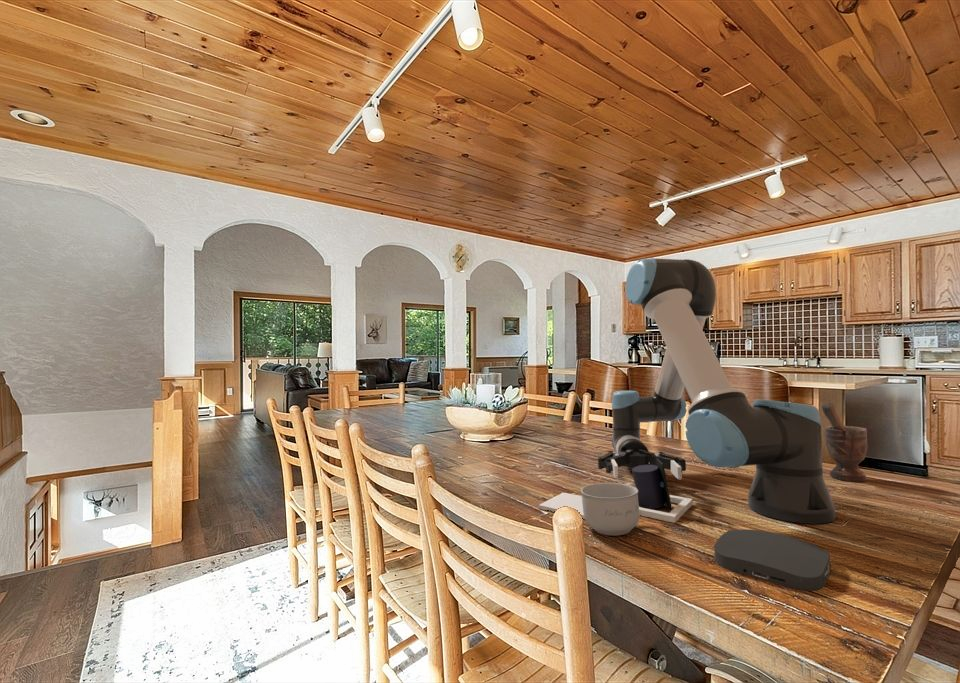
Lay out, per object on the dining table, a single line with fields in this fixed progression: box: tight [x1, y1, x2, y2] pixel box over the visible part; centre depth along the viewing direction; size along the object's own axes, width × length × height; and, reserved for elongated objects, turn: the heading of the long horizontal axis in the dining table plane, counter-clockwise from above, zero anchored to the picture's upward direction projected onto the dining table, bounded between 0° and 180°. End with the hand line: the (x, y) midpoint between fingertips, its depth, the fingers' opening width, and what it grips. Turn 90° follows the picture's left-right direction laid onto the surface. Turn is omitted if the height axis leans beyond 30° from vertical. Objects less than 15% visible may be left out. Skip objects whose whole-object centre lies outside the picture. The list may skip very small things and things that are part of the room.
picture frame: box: [639, 494, 694, 524], centre depth 99 cm, size 14×14×1 cm
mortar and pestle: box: [821, 402, 868, 483], centre depth 116 cm, size 12×9×20 cm
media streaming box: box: [713, 529, 832, 592], centre depth 72 cm, size 15×15×3 cm
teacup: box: [580, 482, 640, 537], centre depth 88 cm, size 14×11×8 cm
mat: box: [538, 492, 585, 520], centre depth 100 cm, size 11×11×1 cm
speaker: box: [631, 458, 673, 513], centre depth 100 cm, size 8×6×10 cm
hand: (647, 472), depth 101 cm, fingers open, 13 cm apart
